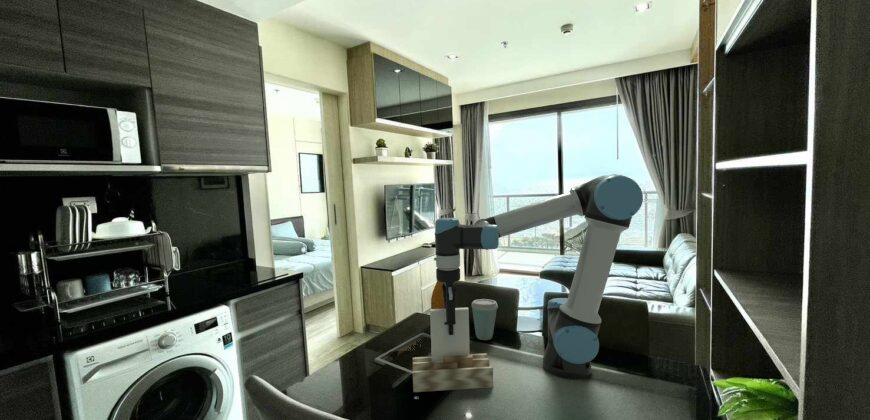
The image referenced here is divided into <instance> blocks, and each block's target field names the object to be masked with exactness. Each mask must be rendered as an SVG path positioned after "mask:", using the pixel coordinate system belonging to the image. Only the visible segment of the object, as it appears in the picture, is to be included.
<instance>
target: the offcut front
mask: <svg viewBox="0 0 870 420" xmlns="http://www.w3.org/2000/svg"><path fill="white" fill-rule="evenodd" d="M441 369H458V365H457V362H448V363H434V370H441Z"/></svg>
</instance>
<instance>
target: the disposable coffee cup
mask: <svg viewBox="0 0 870 420" xmlns="http://www.w3.org/2000/svg"><path fill="white" fill-rule="evenodd" d="M498 307H499V306H498V303H497V301H496V300H494V299H487V298H481V299H475V300H473V301H472V302H471V309H472V317H473V325H474V330H475V331H474V332H475V337H476V338H477V339H478V340H480V341H482V340H483V341H488V340H489V341H490V340H491V339H493V335H494V329H495V323H496V317H497V309H499V308H498Z"/></svg>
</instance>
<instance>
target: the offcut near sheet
mask: <svg viewBox="0 0 870 420" xmlns="http://www.w3.org/2000/svg"><path fill="white" fill-rule="evenodd" d="M448 362H457V365H458V368H473V356H472V355H459V356H443V363H448Z"/></svg>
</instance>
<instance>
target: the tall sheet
mask: <svg viewBox="0 0 870 420" xmlns="http://www.w3.org/2000/svg"><path fill="white" fill-rule="evenodd" d="M469 316H470V315H469V307H455V321H456V324H455V344H448V345H447V344H446V325H444V322H446V309H431V308H430V309H429V317H430V320H429V321H430V335H431V349H430V350H431V357H432V361H443V356H459V355H470V354H471V353H470V351H471V350H470V349H471V348H470V317H469Z"/></svg>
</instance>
